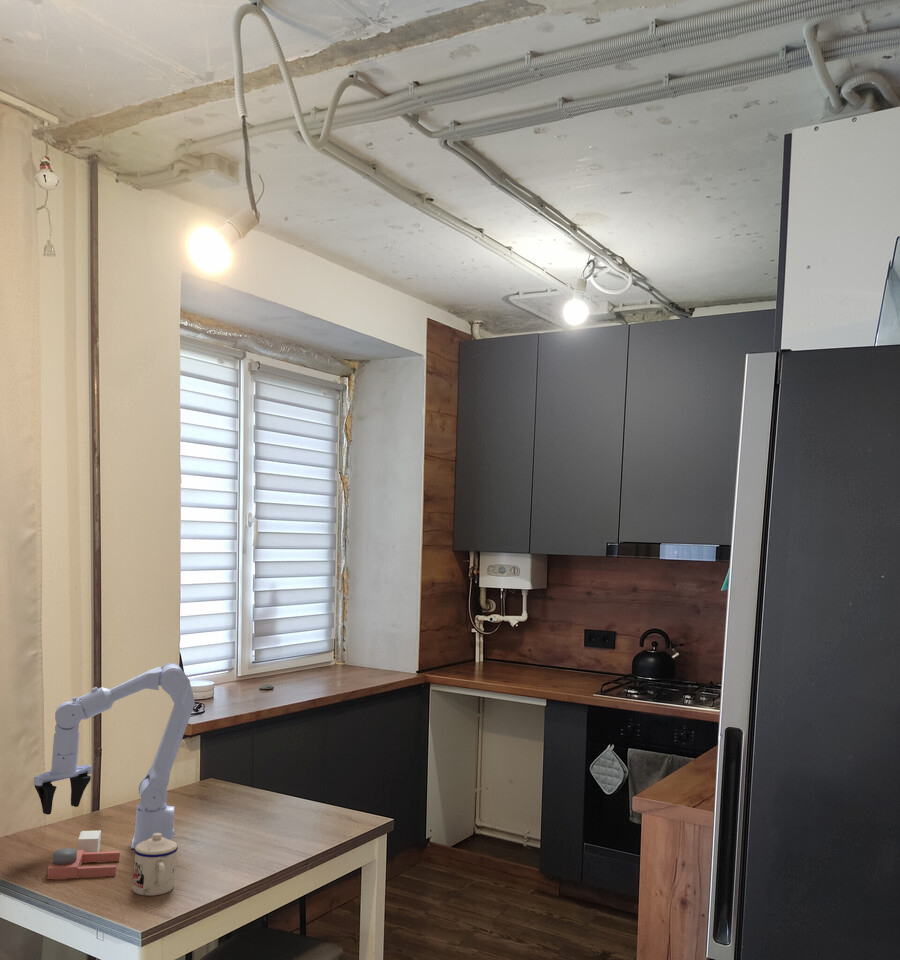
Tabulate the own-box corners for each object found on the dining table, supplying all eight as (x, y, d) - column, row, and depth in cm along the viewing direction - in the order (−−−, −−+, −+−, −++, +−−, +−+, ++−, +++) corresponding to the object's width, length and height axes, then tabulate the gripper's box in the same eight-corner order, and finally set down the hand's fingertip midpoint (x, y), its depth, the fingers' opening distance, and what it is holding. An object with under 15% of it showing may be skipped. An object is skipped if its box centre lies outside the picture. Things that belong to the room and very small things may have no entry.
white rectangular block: (99, 849, 212) (101, 830, 212) (96, 858, 206) (98, 838, 207) (79, 850, 211) (81, 831, 211) (76, 858, 205) (78, 839, 205)
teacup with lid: (127, 884, 191) (131, 830, 192) (169, 878, 196) (173, 825, 197) (137, 904, 181) (142, 847, 182) (182, 898, 185) (186, 842, 186)
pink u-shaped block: (119, 859, 206) (121, 839, 206) (114, 876, 195) (116, 856, 195) (55, 862, 202) (57, 842, 202) (47, 879, 191) (49, 858, 192)
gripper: (80, 744, 219) (76, 799, 218) (27, 755, 207) (23, 813, 206) (98, 749, 216) (94, 805, 215) (46, 760, 203) (41, 819, 202)
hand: (61, 809), depth 210 cm, fingers open, 7 cm apart
